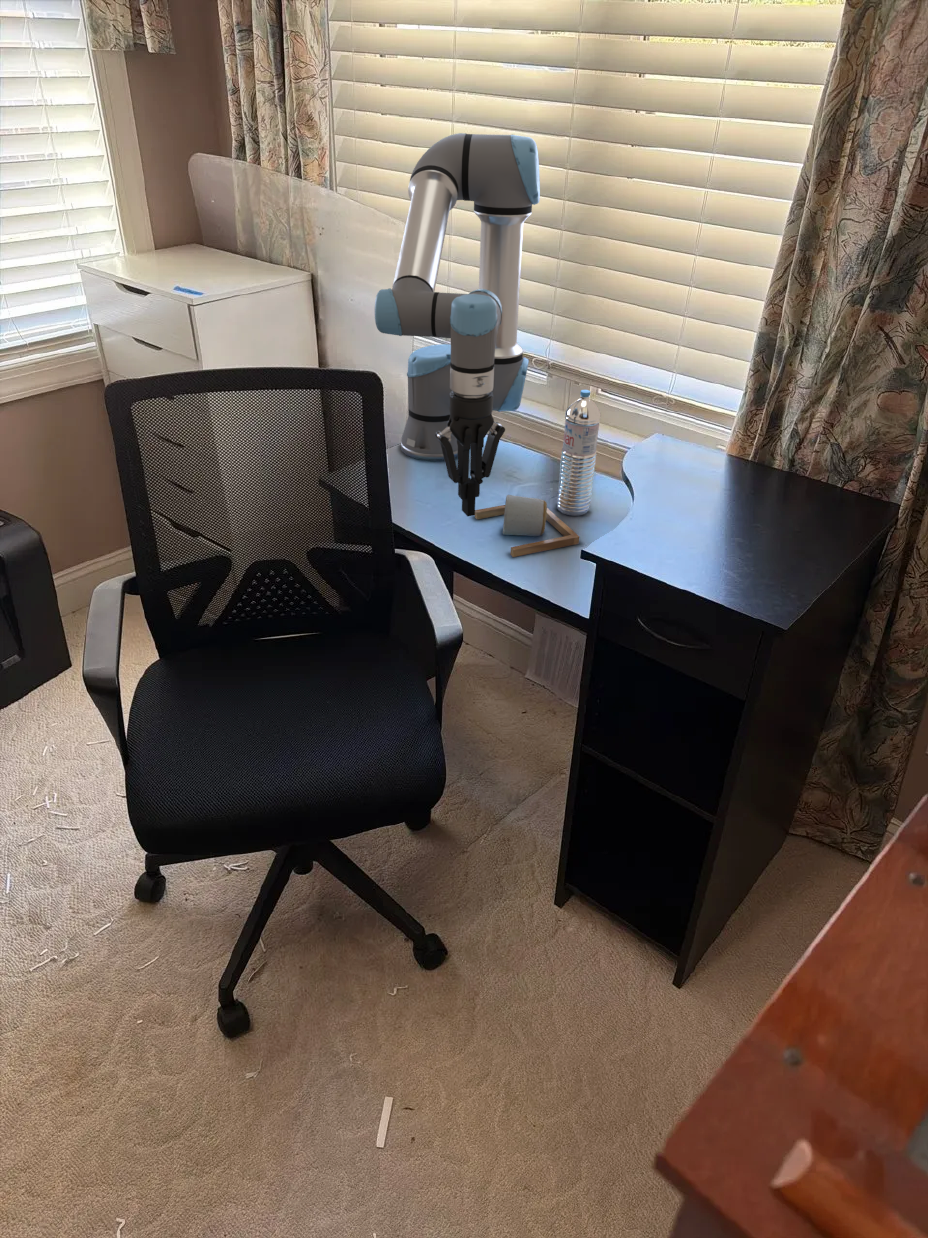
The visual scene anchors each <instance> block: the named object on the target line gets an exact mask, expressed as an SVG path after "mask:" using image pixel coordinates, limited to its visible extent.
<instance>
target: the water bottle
mask: <svg viewBox="0 0 928 1238" xmlns="http://www.w3.org/2000/svg"><path fill="white" fill-rule="evenodd" d="M579 394H580V395H579V398H578V399H576V400H574V401H573V402H571V403H570V404H569V406H568V407H567V408H566V410H565V414H564V431H563V440H562V443H563V444H562V448H561V454H560V463H559V464H560V465H559V476H558V487H557V497H556V508H557V510H558V511H559V512H560V513H561V514H564V515H566V516H571V517H579V516H583V515H586V514H587V513H588V512H589V511H590V507H591V501H592V493H593V484H594V482H593V481H594V476H595V466H596V460H597V445H598V438H599V437H598V436H599V431H600V429H599V428H600V422H601V420H602V419H601V417H602V412H601V410H600V408H599V407H598V405H597V404H596V403H595V402H594V401H593V400H592V399H591V398H590V396H591V391H590V390H589V389H581V390H580V393H579Z"/></svg>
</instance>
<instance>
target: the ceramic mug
mask: <svg viewBox="0 0 928 1238" xmlns="http://www.w3.org/2000/svg"><path fill="white" fill-rule="evenodd" d="M504 505H505V514H504V515H503V525H502V534H503V535H506V536H507V535H508V536H527V537H542V536H543V534H545V531H546V525H547V520H546V515H547V508H548V502H547V501H546V500H544V499H541V498H537V497H527V496H521V495H514V494H513V495H512V494H506V496H505V504H504Z"/></svg>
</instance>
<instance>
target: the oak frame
mask: <svg viewBox="0 0 928 1238" xmlns="http://www.w3.org/2000/svg"><path fill="white" fill-rule="evenodd" d="M504 514H505V504H501V505H495V506H491V507H483V508H480V509H479V508H478V509H475V515H474V518H475V519H476V520H482V519H487V518H488V519H489V518H492V517H499V516H504ZM546 522H547V523H549V524H550V525H551V526H552V527H553V528H554V529H555V530H557V532H558V533H560V534H561V535H562V536H559V537H554V538H549V539H544V540H539V541H535V542H534V541H533V542H529V543H525V544H519V545H514V546H510V550H509V551H510V552H509V555H510V556H511V557H512V558H516V557H521V556H527V555H531V554H536V553H540V552H546V551H551V550H555V549H560V548H565V547H570V546H574V545H575V546H576V545H579V544H580V535H579V534H577V533H576V532H575V531H574V530H573V529H572V528H571V527H570V526H568V524H566V523H565V522H564V521H563V520H561V519H560V517H558V516H557V515H556V514H555V513H554V512H553V511H551V509H549V508H548V507H547V515H546Z"/></svg>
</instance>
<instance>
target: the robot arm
mask: <svg viewBox="0 0 928 1238" xmlns="http://www.w3.org/2000/svg"><path fill="white" fill-rule="evenodd" d="M539 162H540V161H539V151H538V146H537V142H536V140H534V138H532V137H531V136H525V135H515V134H482V133H481V134H479V133H478V134H477V133H466V132H465V133H463V132H461V133H460V132H459V133H453V134H450V135H448V136H445V137H443V138H441V139H439V140H438V141H437V142H435V143H434V144H433V145H431V146H430V147H429V148H428V149H427V150H426V151H425V152H423V154H422V155H421V157H420V158H419V160H417V162H416V164H415V166H414V168H413V170H412V172H411V175H410V178H409V181H408V188H407V193H408V197H409V200H410V204H409V208H408V212H407V213H408V214H407V218H406V222H405V227H404V231H403V236H402V239H401V240H402V241H401V246H400V249H399V254H398V258H397V264H396V268H395V272H394V276H393V277H394V278H393V283H392V288H384V289H383V288H382V289H380V290H379V291H378V292H377V293H376V296H375V300H374V322H375V326H376V329H377V330H378V331H379V332H380V333H381V334H386V335H392V336H399V337H402V336H403V337H404V336H405V337H425V338H440V339H450V344H448V343H442V344H440V343H439V344H438V343H437V344H431V345H426V346H423V347H420V348H417V349H416V350H414V351H413V352H411V353H410V355H409V357H408V359H407V371H406V377H407V405H408V406H407V412H408V414H407V420H406V423H405V426H404V429H403V432H402V435H401V439H400V449H401V451H402V453H404V454H405V455H406V456H408V457H410V458H413V459H415V460H416V459H417V460H421V461H431V462H437V461H439V462H441V461H444V464H445V468H446V472H447V476H448V478H449V479H450V480H451V481H452V483H454V484H457V496H458V498H460V499H461V511H462V512H463V514H464V515H466V517H472V516H475V510H476V498H478V497H479V496H480V494H481V493H480V492H481V490H480V489H481V485H482V484H483V482H484V480H483V479H485V478H489V477H490V476H491V474H492V470H493V465H494V462H495V458H496V455H497V451H498V449H499V448H498V447H499V444H500V441H501V439H502V436H503V435H504V434H505V432H506V428H505V426H503V425H502V424H501V423H500V422H498V421H496V422H495V419H494V417H493V412H498V413H500V412H515V411H517V410H519V408H520V406H521V402H522V397H523V392H524V389H525V388H524V387H525V383H526V378H527V373H528V367H529V363H530V360H529V358H526V357H523V356H524V355H523V354H524V349H523V348H522V347H521V346H520V344H519V343H518V342H517V341H518V340H517V339H518V323H519V305H520V288H521V271H522V269H521V268H522V253H523V238H524V237H523V236H524V235H523V234H524V223H525V221H526V220H527V219H528V218H529V217H530V216H531V215H532V212H533V206H535V205H538V204H540V200H541V188H540V187H541V181H540V179H541V177H540V163H539ZM457 201H464V202H473V213H474V214H475V215H476V217H477V218H478V219H479V221H480V237H479V238H480V239H479V269H478V270H479V271H478V289H477V288H476V289H475V290H472V291H471V292H469V293H457V292H439V291H436V285H437V280H438V275H439V270H440V264H441V258H442V253H443V248H444V243H445V238H446V232H447V226H448V223H449V222H448V221H449V216H450V212H451V210H453V208H454V207H455V206H456V204H457ZM486 436H487V437H486ZM485 437H486V441H485ZM456 458H457V460H456ZM456 461H457V462H456ZM469 476H470V477H469Z"/></svg>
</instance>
